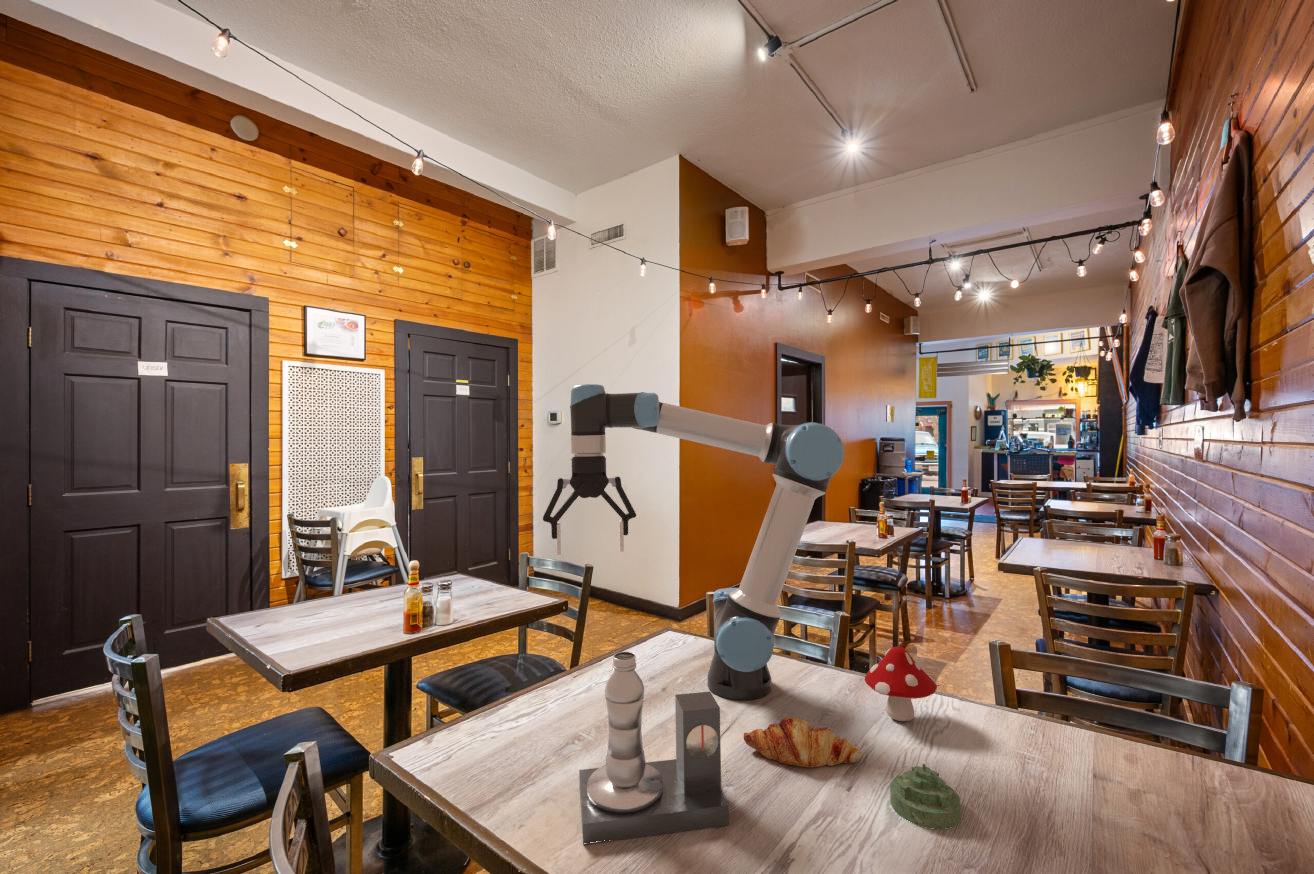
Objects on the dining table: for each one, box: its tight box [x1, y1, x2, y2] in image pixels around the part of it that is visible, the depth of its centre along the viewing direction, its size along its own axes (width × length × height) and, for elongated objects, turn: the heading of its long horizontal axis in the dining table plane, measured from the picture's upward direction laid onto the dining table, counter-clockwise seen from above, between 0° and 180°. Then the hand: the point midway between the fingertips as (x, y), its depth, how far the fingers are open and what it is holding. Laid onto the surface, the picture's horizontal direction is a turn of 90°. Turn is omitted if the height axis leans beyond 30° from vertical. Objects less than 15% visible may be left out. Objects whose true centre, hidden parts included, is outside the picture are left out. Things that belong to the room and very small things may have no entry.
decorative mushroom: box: [864, 646, 938, 722], centre depth 119 cm, size 14×14×15 cm
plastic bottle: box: [604, 651, 647, 787], centre depth 91 cm, size 6×7×20 cm
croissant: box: [743, 716, 863, 768], centre depth 106 cm, size 21×10×8 cm, turn 77°
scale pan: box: [587, 764, 663, 812], centre depth 91 cm, size 12×12×1 cm
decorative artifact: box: [889, 763, 962, 830], centre depth 90 cm, size 10×7×10 cm
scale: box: [578, 691, 730, 845], centre depth 92 cm, size 22×14×16 cm, turn 100°
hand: (590, 552), depth 125 cm, fingers open, 13 cm apart
